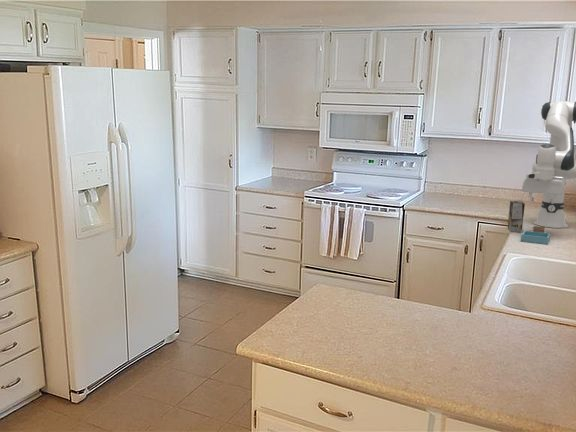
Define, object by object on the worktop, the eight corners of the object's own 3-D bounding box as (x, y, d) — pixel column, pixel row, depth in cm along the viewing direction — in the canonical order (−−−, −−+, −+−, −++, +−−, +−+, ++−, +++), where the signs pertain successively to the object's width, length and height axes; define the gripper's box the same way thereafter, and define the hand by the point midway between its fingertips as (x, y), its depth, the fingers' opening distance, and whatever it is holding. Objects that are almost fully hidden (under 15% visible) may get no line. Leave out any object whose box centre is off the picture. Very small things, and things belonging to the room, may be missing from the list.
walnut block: (533, 235, 306) (534, 226, 305) (543, 236, 304) (544, 227, 303) (532, 236, 302) (533, 227, 301) (542, 237, 300) (543, 228, 299)
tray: (523, 237, 300) (524, 230, 299) (549, 240, 294) (550, 233, 293) (520, 241, 289) (521, 234, 289) (547, 244, 283) (548, 237, 283)
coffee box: (522, 232, 312) (525, 203, 309) (509, 231, 313) (512, 202, 310) (519, 229, 321) (521, 201, 318) (507, 228, 322) (509, 200, 319)
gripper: (566, 176, 295) (563, 203, 297) (524, 173, 305) (522, 199, 307) (566, 177, 289) (562, 204, 292) (523, 174, 299) (520, 200, 301)
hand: (541, 201), depth 299 cm, fingers open, 8 cm apart
